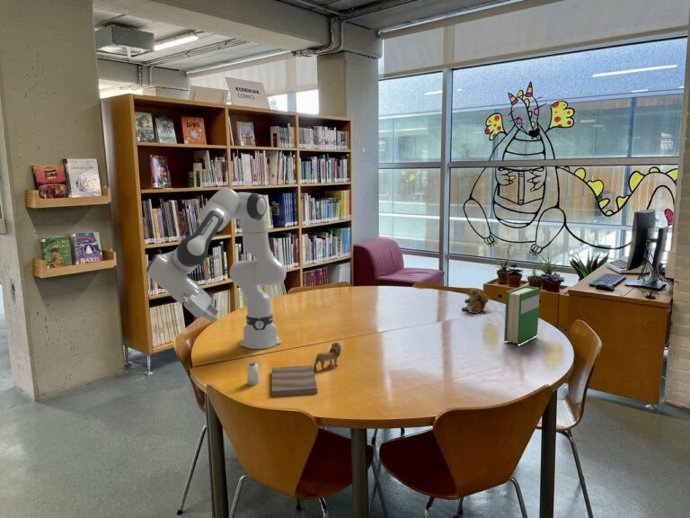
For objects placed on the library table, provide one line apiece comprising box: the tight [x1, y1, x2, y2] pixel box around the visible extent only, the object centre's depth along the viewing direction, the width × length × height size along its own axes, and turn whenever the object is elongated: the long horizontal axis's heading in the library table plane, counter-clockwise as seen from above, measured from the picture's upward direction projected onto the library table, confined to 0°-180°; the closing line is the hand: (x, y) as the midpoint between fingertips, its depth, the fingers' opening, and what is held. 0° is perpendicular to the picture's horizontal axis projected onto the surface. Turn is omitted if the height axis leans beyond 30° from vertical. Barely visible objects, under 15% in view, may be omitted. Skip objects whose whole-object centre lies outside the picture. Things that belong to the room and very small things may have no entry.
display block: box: [271, 364, 318, 397], centre depth 188 cm, size 22×16×2 cm
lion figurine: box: [313, 341, 342, 372], centre depth 202 cm, size 15×5×9 cm, turn 138°
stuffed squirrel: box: [461, 288, 491, 314], centre depth 283 cm, size 10×14×13 cm
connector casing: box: [246, 361, 259, 386], centre depth 187 cm, size 4×4×8 cm
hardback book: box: [503, 285, 541, 345], centre depth 232 cm, size 18×7×24 cm, turn 134°
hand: (215, 317), depth 182 cm, fingers open, 8 cm apart
